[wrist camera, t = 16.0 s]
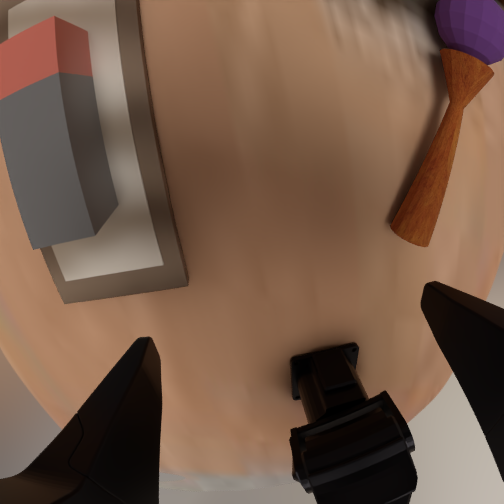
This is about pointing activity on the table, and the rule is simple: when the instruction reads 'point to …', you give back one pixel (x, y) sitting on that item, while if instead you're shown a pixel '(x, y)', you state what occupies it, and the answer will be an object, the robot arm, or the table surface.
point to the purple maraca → (452, 105)
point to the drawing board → (114, 159)
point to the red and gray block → (54, 134)
